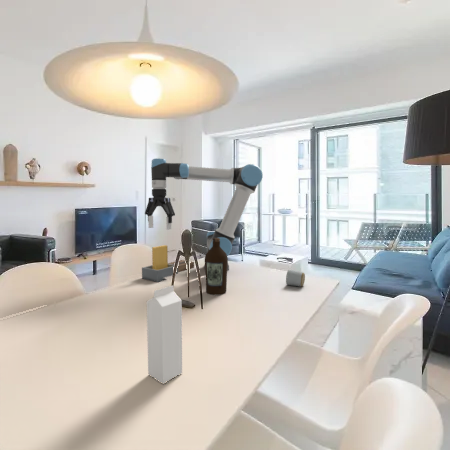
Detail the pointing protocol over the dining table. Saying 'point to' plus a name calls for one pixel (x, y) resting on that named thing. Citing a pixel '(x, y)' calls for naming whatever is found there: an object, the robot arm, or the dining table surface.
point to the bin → (157, 273)
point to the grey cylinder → (295, 278)
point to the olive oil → (216, 269)
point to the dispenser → (183, 265)
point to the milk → (164, 334)
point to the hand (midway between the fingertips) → (159, 228)
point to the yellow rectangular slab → (160, 257)
